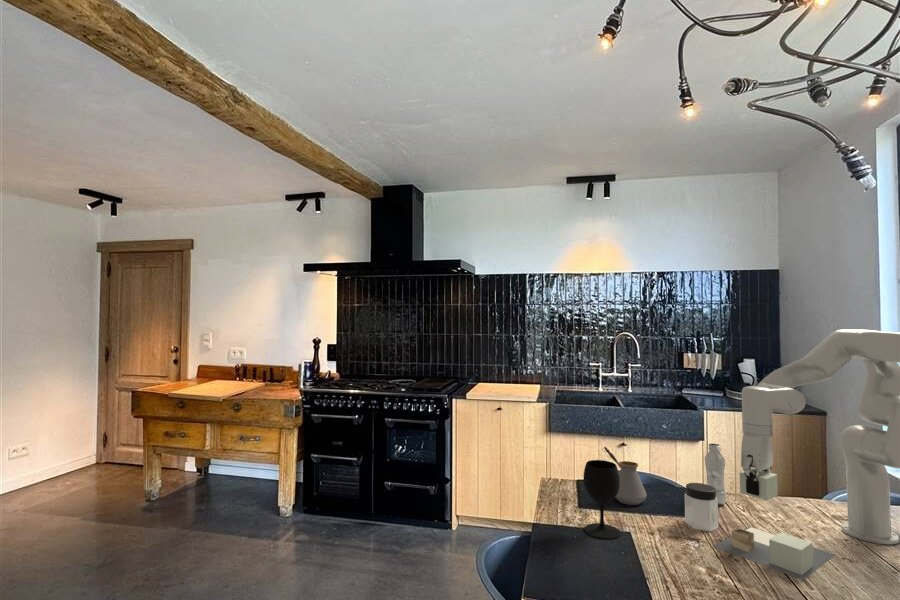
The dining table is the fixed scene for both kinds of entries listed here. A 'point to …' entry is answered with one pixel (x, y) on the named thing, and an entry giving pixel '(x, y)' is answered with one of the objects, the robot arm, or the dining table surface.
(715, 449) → the plastic bottle
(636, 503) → the coffee pot
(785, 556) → the cover
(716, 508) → the jar
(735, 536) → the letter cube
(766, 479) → the cover
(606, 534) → the wine glass
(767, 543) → the slate mat
